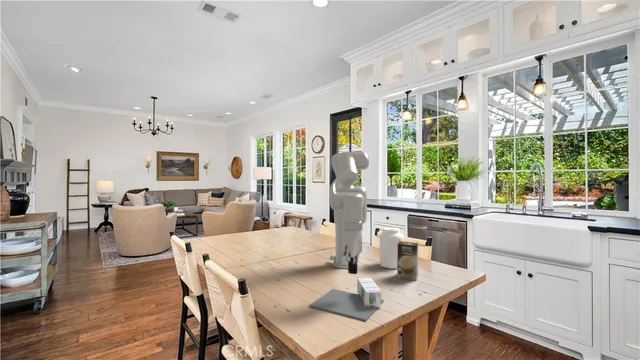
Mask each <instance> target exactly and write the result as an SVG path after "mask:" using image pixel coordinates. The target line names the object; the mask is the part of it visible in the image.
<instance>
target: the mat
mask: <svg viewBox="0 0 640 360" xmlns="http://www.w3.org/2000/svg"><path fill="white" fill-rule="evenodd" d="M384 302H385V299H382V298H381V305H382V304H383V303H384ZM309 307H310V308H313V309H318V310H319V311H320V310H321V311H325V312H329V313H333V314H336V315H340V316H344V317H347V318H352V319H355V320H360V321H363V322H367V321H368V320H369V319H370V318H371V317H372V315H373V314H375V312H376V311H377V310H378V309H379V307H366V306H365V305H364V303H363V301H362V299H361V297H360V296H359V294H358V293H355V292H354V293H353V292H349V291H344V290H339V289H335V288H331V289H330V290H329V291H327V292H326V293H324V294H323V295H322V296H320V297H318V298H317V299H316V300H314V301H313V302H311V303H310V304H309Z"/></svg>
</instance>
